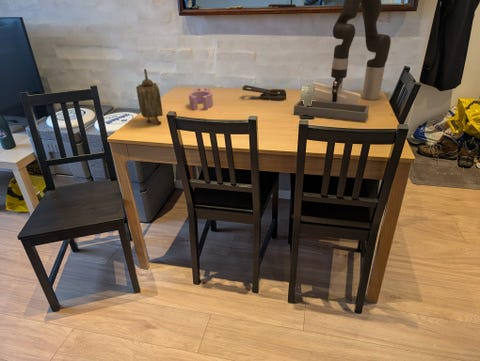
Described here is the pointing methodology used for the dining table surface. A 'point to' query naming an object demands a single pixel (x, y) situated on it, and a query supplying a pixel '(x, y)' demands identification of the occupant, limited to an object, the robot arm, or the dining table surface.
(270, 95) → the black elongated piece
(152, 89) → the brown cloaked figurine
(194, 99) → the clip
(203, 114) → the dining table surface
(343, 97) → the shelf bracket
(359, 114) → the grey rectangular tray
